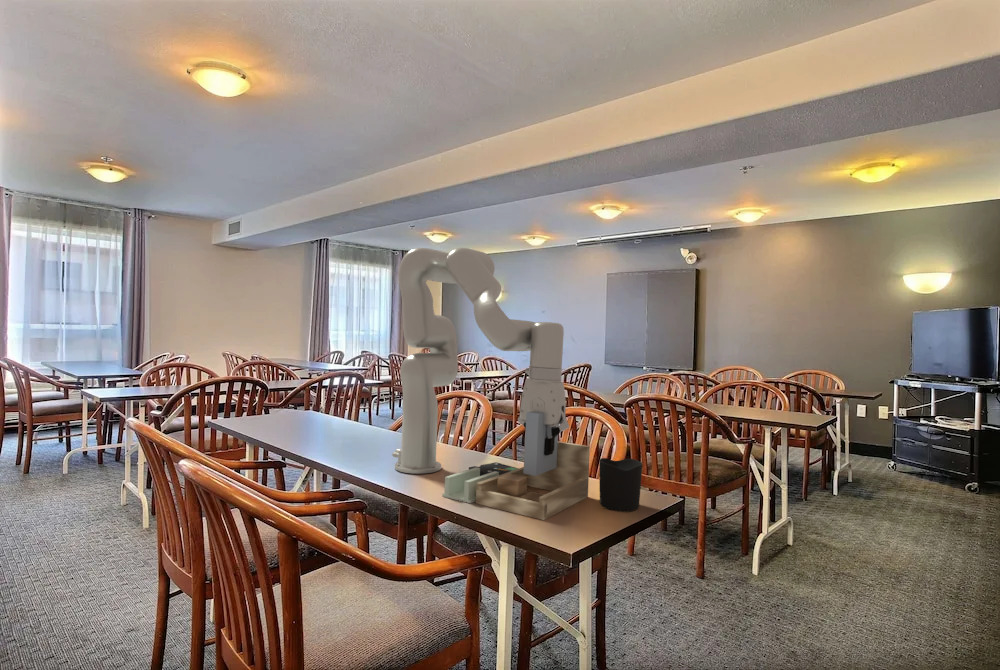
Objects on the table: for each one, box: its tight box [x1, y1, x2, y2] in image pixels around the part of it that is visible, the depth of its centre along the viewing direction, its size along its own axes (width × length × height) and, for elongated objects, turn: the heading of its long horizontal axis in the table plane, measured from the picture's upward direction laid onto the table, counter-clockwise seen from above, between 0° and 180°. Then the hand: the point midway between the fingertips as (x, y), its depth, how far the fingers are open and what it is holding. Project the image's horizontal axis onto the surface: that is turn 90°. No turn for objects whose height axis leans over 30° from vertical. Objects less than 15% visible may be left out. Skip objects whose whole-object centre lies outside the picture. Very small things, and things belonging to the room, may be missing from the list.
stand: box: [441, 466, 499, 504], centre depth 130 cm, size 8×12×5 cm, turn 146°
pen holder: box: [599, 457, 643, 513], centre depth 125 cm, size 9×9×10 cm
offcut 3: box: [520, 491, 545, 502], centre depth 120 cm, size 5×5×3 cm
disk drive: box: [468, 461, 520, 476], centre depth 145 cm, size 10×3×15 cm
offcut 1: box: [497, 473, 528, 495], centre depth 124 cm, size 5×5×3 cm
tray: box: [475, 440, 591, 521], centre depth 127 cm, size 17×21×12 cm
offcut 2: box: [497, 490, 528, 498], centre depth 124 cm, size 5×5×3 cm
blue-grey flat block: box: [523, 411, 560, 476], centre depth 130 cm, size 3×10×14 cm, turn 146°
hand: (541, 452), depth 130 cm, fingers closed on blue-grey flat block, 3 cm apart
